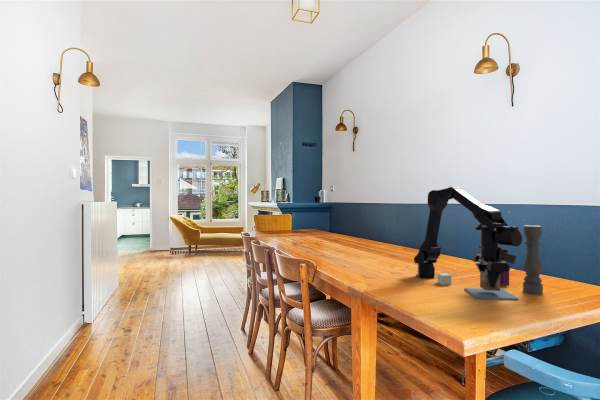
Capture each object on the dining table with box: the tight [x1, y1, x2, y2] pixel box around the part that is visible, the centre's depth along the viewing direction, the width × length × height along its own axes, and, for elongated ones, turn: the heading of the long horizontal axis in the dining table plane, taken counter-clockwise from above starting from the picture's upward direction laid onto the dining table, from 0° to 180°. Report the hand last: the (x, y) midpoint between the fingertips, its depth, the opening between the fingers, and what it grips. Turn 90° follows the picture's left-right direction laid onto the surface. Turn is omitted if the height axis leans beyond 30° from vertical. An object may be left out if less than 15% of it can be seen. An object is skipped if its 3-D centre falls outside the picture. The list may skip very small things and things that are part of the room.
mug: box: [500, 271, 510, 286], centre depth 141 cm, size 7×10×7 cm
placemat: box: [463, 287, 519, 301], centre depth 125 cm, size 14×12×1 cm
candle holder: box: [522, 224, 544, 296], centre depth 128 cm, size 6×6×25 cm
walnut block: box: [479, 271, 501, 291], centre depth 125 cm, size 5×5×6 cm
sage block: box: [437, 272, 452, 286], centre depth 142 cm, size 4×4×4 cm
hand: (489, 285), depth 125 cm, fingers closed on walnut block, 5 cm apart
